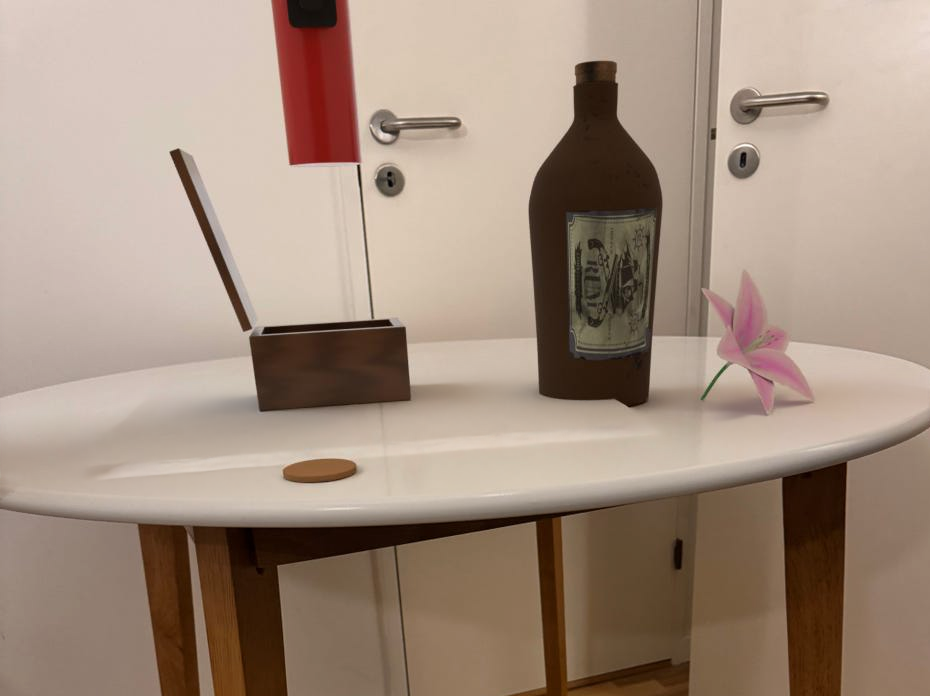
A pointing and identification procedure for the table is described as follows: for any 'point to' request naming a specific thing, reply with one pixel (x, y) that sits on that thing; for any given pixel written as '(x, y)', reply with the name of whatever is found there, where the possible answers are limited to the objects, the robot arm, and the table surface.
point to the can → (318, 90)
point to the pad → (319, 470)
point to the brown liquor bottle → (595, 252)
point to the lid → (214, 238)
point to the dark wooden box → (330, 364)
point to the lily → (755, 344)
